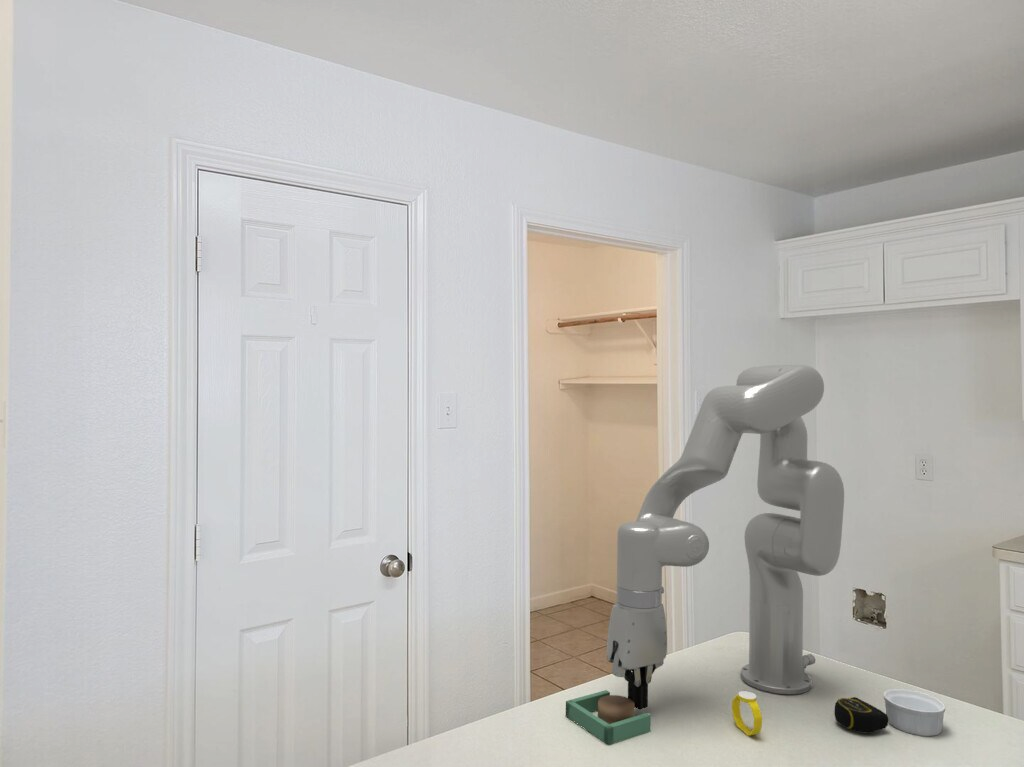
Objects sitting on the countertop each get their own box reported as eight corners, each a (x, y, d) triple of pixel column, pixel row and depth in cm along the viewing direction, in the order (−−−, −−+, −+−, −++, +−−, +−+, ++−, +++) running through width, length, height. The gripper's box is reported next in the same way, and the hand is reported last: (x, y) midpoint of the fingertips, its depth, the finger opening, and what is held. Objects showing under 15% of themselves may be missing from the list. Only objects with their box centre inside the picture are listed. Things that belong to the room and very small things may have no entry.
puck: (617, 710, 117) (618, 692, 117) (642, 724, 112) (642, 706, 112) (590, 718, 114) (590, 700, 114) (614, 733, 109) (614, 714, 109)
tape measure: (890, 734, 110) (891, 711, 110) (856, 740, 108) (857, 716, 108) (857, 715, 117) (857, 693, 117) (824, 720, 115) (825, 698, 115)
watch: (727, 724, 113) (727, 687, 113) (741, 722, 113) (742, 685, 114) (751, 741, 107) (751, 703, 107) (766, 739, 108) (766, 701, 108)
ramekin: (892, 708, 120) (893, 683, 120) (951, 726, 113) (951, 700, 113) (875, 725, 113) (875, 698, 113) (936, 745, 107) (937, 717, 107)
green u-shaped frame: (606, 704, 119) (606, 690, 119) (650, 731, 110) (650, 715, 110) (565, 716, 114) (565, 701, 114) (608, 744, 105) (608, 728, 105)
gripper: (655, 585, 123) (654, 688, 123) (590, 597, 115) (588, 707, 115) (686, 596, 117) (685, 704, 116) (620, 609, 109) (618, 725, 108)
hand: (637, 705), depth 116 cm, fingers closed
